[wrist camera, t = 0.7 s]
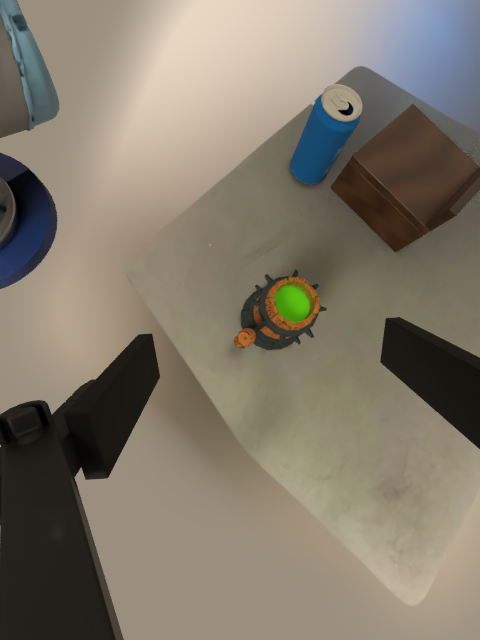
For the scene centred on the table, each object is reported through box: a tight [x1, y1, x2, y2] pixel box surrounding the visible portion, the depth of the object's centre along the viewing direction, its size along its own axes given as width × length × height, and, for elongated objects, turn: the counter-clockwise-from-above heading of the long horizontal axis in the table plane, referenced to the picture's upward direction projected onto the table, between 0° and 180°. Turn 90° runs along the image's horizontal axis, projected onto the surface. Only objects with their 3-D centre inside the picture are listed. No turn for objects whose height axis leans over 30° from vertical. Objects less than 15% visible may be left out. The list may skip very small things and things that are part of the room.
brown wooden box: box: [331, 104, 480, 252], centre depth 41 cm, size 16×16×11 cm
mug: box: [234, 270, 327, 350], centre depth 33 cm, size 13×10×12 cm
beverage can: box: [291, 84, 362, 184], centre depth 39 cm, size 6×6×12 cm
